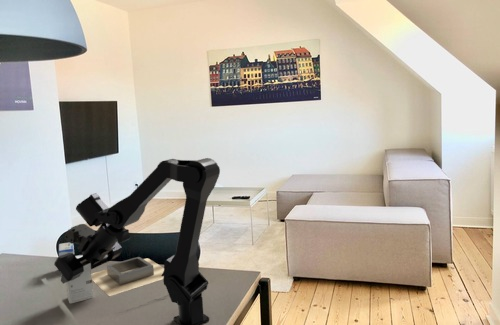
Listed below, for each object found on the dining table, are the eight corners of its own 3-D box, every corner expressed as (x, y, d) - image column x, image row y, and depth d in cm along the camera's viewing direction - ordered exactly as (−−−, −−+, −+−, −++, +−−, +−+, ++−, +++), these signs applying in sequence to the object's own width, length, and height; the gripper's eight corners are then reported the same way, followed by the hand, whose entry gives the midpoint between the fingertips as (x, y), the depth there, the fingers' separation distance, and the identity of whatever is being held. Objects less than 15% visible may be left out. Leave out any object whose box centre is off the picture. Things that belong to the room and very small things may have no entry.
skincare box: (70, 307, 105) (65, 263, 103) (67, 301, 108) (62, 258, 107) (94, 300, 108) (90, 257, 106) (91, 294, 112) (86, 253, 110)
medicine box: (61, 269, 132) (58, 243, 131) (75, 266, 134) (73, 241, 133) (60, 277, 125) (58, 250, 124) (76, 274, 127) (73, 248, 126)
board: (175, 278, 120) (175, 275, 120) (109, 299, 108) (109, 296, 108) (147, 260, 136) (147, 258, 136) (87, 277, 124) (87, 274, 124)
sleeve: (153, 275, 121) (153, 265, 121) (120, 285, 114) (119, 275, 114) (140, 265, 129) (139, 256, 129) (107, 274, 123) (106, 265, 122)
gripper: (110, 207, 112) (84, 242, 118) (55, 226, 95) (28, 265, 101) (135, 236, 110) (107, 270, 116) (84, 261, 93) (54, 299, 99)
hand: (76, 275), depth 108 cm, fingers open, 9 cm apart
